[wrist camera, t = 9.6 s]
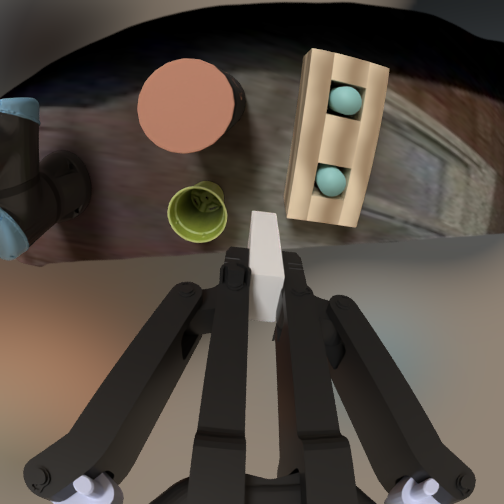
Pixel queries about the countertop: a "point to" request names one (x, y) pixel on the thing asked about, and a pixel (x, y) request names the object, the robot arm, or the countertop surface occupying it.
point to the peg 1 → (344, 100)
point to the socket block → (333, 137)
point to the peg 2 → (330, 179)
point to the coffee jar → (189, 105)
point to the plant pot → (198, 212)
